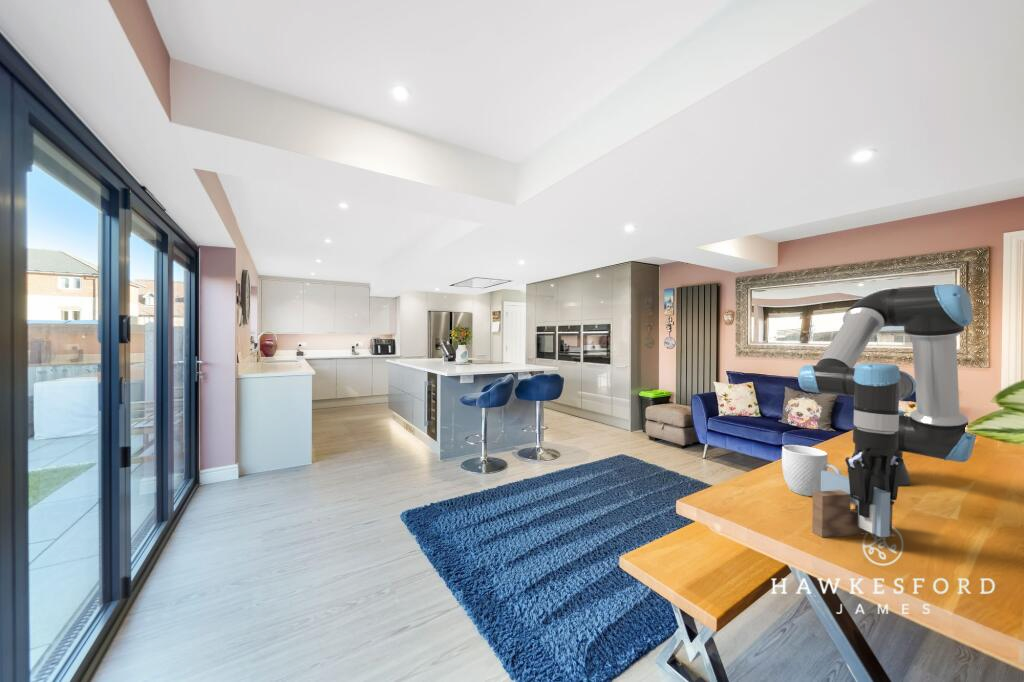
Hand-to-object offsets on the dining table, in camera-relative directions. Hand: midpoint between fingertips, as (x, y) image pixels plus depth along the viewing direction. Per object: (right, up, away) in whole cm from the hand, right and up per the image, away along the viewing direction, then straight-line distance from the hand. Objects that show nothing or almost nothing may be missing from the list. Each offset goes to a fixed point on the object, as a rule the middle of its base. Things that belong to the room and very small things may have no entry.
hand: (872, 529), depth 86 cm
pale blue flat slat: (-1, 0, +5) cm, 5 cm away
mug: (+6, -3, +27) cm, 28 cm away
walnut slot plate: (-1, -3, +5) cm, 5 cm away
